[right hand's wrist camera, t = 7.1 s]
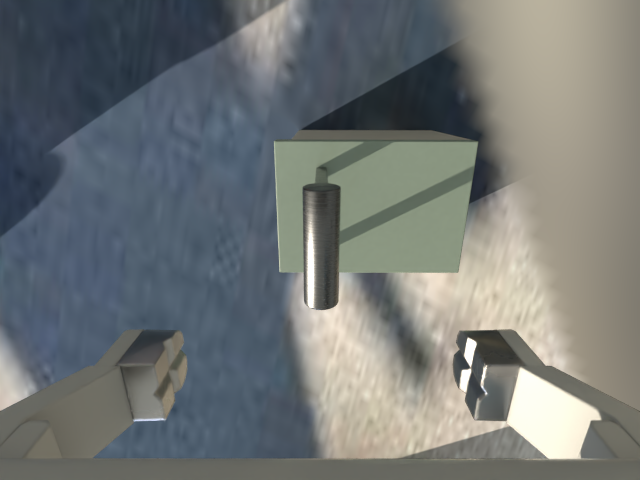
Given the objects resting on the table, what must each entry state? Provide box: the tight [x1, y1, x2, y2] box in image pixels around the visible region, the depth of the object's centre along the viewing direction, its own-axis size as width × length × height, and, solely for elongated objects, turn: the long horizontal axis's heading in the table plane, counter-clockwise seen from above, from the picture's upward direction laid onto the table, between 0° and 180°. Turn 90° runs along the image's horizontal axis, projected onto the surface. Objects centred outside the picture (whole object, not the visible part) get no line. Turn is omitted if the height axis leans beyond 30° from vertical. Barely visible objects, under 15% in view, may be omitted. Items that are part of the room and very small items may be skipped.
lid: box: [274, 139, 478, 310], centre depth 21 cm, size 13×9×8 cm
